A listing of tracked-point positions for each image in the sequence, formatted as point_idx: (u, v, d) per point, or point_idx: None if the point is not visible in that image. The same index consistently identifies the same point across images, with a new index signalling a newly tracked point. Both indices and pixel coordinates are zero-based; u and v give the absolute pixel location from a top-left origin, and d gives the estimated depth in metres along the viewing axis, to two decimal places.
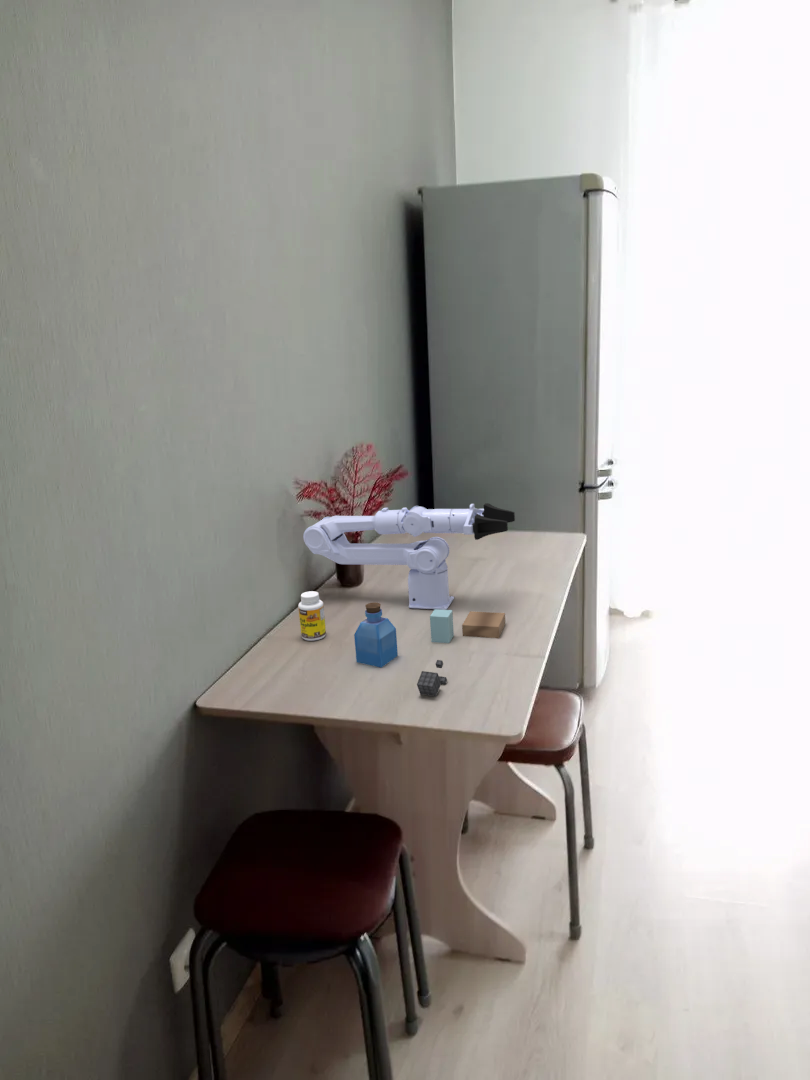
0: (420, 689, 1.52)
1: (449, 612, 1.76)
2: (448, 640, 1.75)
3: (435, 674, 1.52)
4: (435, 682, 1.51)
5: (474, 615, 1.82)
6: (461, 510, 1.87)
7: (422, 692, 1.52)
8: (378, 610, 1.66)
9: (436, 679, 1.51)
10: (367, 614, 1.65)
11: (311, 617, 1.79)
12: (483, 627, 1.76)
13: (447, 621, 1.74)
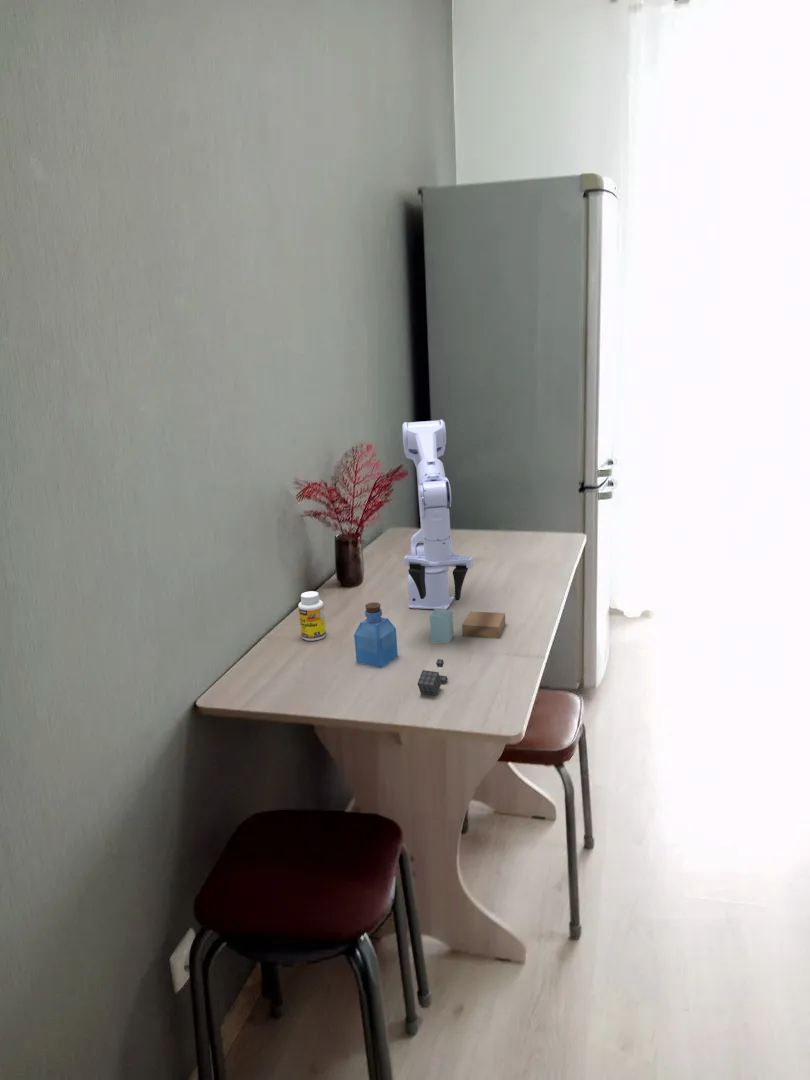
0: (421, 688, 1.52)
1: (449, 612, 1.76)
2: (448, 640, 1.75)
3: (435, 673, 1.52)
4: (436, 681, 1.52)
5: (474, 615, 1.82)
6: (431, 551, 1.69)
7: (423, 691, 1.53)
8: (378, 610, 1.66)
9: (436, 678, 1.52)
10: (367, 614, 1.65)
11: (311, 617, 1.79)
12: (483, 627, 1.76)
13: (447, 621, 1.74)
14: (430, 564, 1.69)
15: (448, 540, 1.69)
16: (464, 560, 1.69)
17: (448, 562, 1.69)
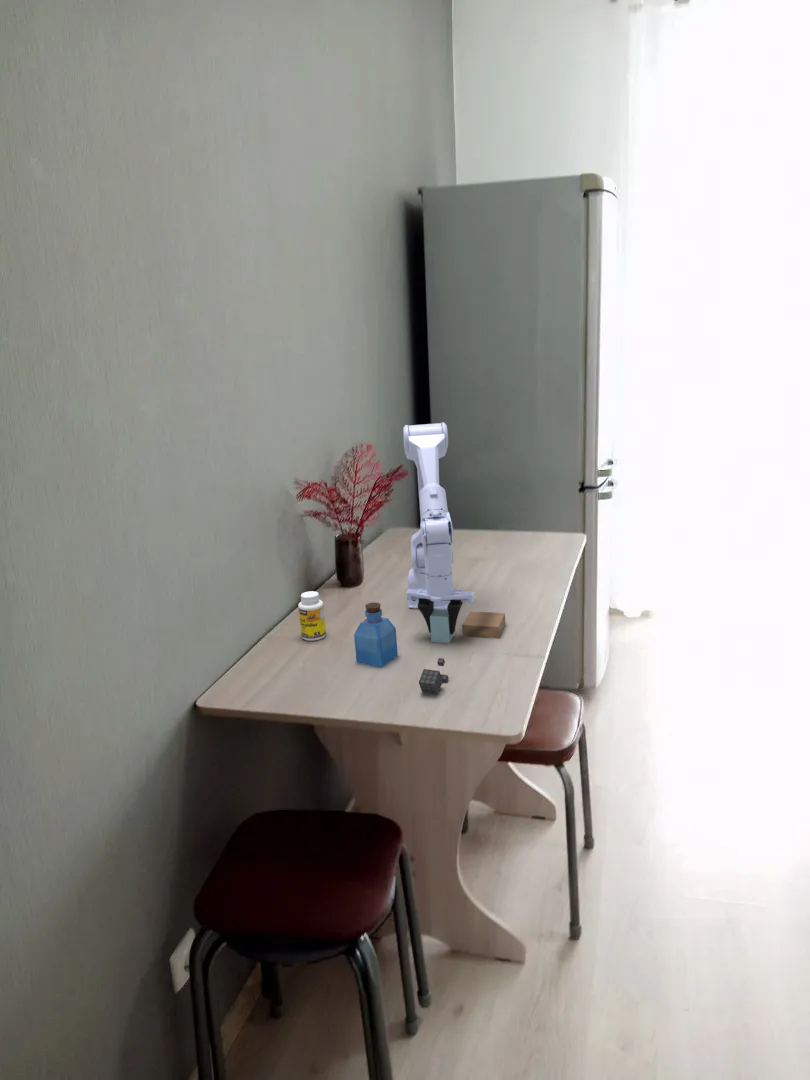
0: (422, 687, 1.53)
1: None
2: (448, 640, 1.75)
3: (436, 672, 1.53)
4: (437, 680, 1.52)
5: (474, 615, 1.82)
6: (433, 587, 1.71)
7: (424, 690, 1.53)
8: (378, 610, 1.66)
9: (437, 677, 1.52)
10: (367, 614, 1.65)
11: (311, 617, 1.79)
12: (483, 627, 1.76)
13: (447, 621, 1.74)
14: (432, 599, 1.71)
15: (450, 576, 1.71)
16: (466, 595, 1.71)
17: (450, 597, 1.71)
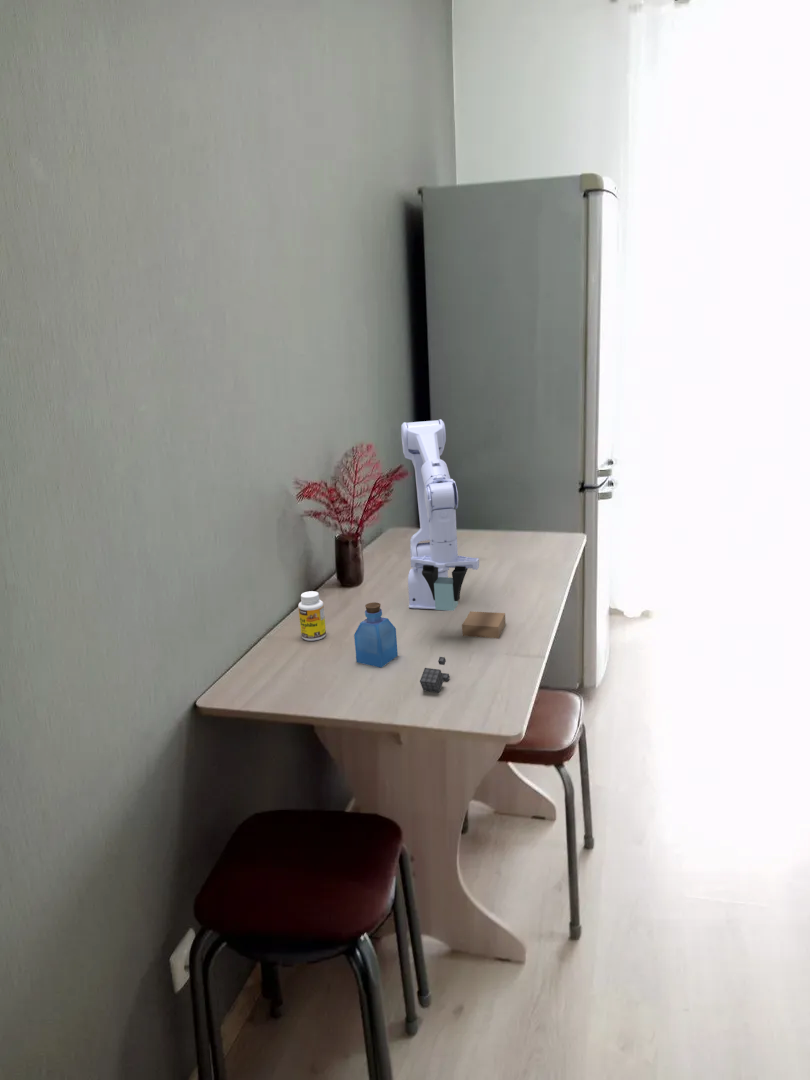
0: (423, 686, 1.53)
1: None
2: (452, 608, 1.73)
3: (437, 671, 1.53)
4: (438, 679, 1.53)
5: (474, 615, 1.82)
6: (437, 553, 1.70)
7: (425, 689, 1.54)
8: (378, 610, 1.66)
9: (438, 675, 1.53)
10: (367, 614, 1.65)
11: (311, 617, 1.79)
12: (483, 627, 1.76)
13: (451, 588, 1.72)
14: (436, 565, 1.69)
15: (454, 541, 1.70)
16: (470, 561, 1.70)
17: (454, 563, 1.70)
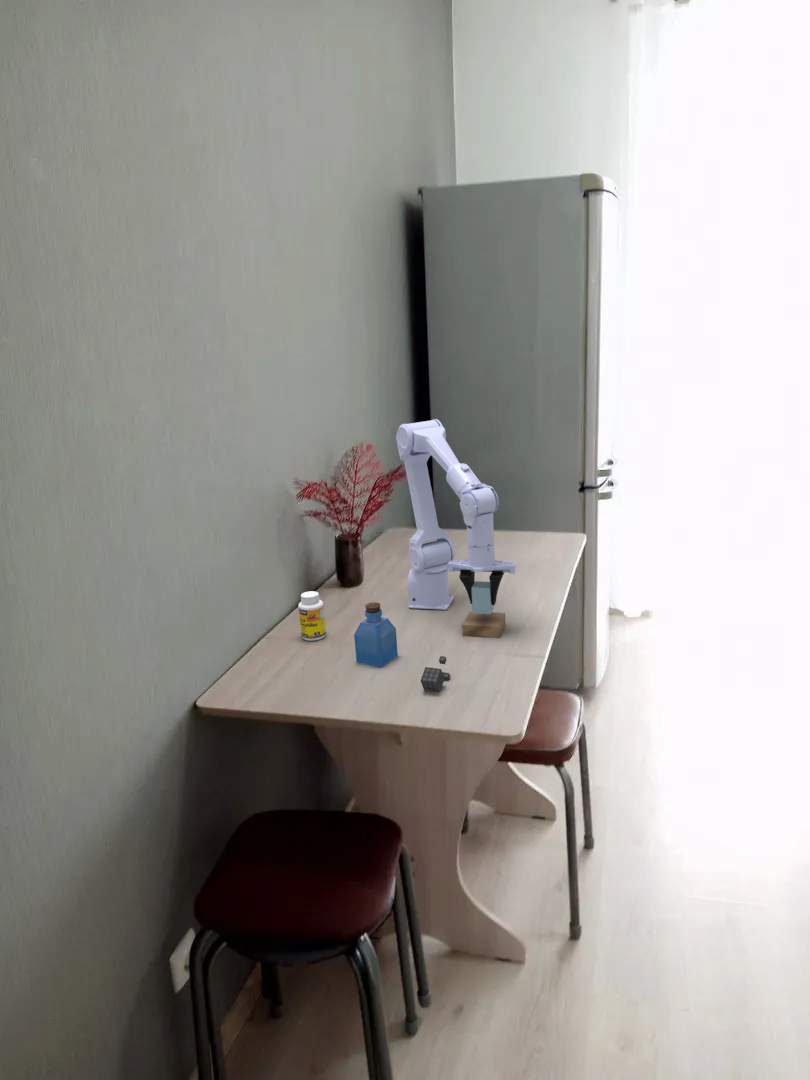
0: (424, 685, 1.54)
1: None
2: (489, 611, 1.76)
3: (438, 670, 1.53)
4: (439, 678, 1.53)
5: (474, 615, 1.82)
6: (475, 557, 1.73)
7: (426, 688, 1.54)
8: (378, 610, 1.66)
9: (439, 675, 1.53)
10: (367, 614, 1.65)
11: (311, 617, 1.79)
12: (483, 627, 1.76)
13: (489, 592, 1.75)
14: (474, 570, 1.73)
15: (492, 546, 1.73)
16: (508, 566, 1.73)
17: (492, 568, 1.73)
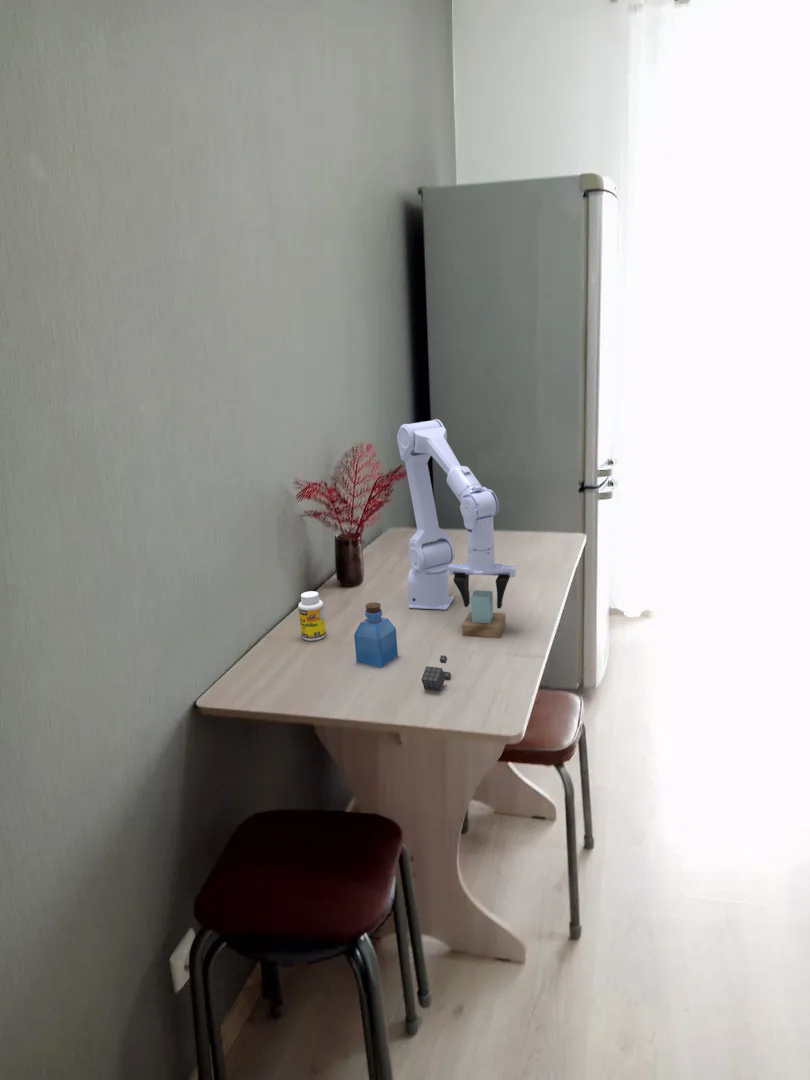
0: (424, 684, 1.54)
1: (489, 593, 1.78)
2: (489, 620, 1.77)
3: (439, 669, 1.54)
4: (439, 677, 1.53)
5: None
6: (475, 561, 1.73)
7: (426, 687, 1.54)
8: (378, 610, 1.66)
9: (440, 674, 1.53)
10: (367, 614, 1.65)
11: (311, 617, 1.79)
12: (483, 627, 1.76)
13: (488, 601, 1.76)
14: (475, 573, 1.73)
15: (492, 550, 1.73)
16: (508, 569, 1.73)
17: (492, 571, 1.73)
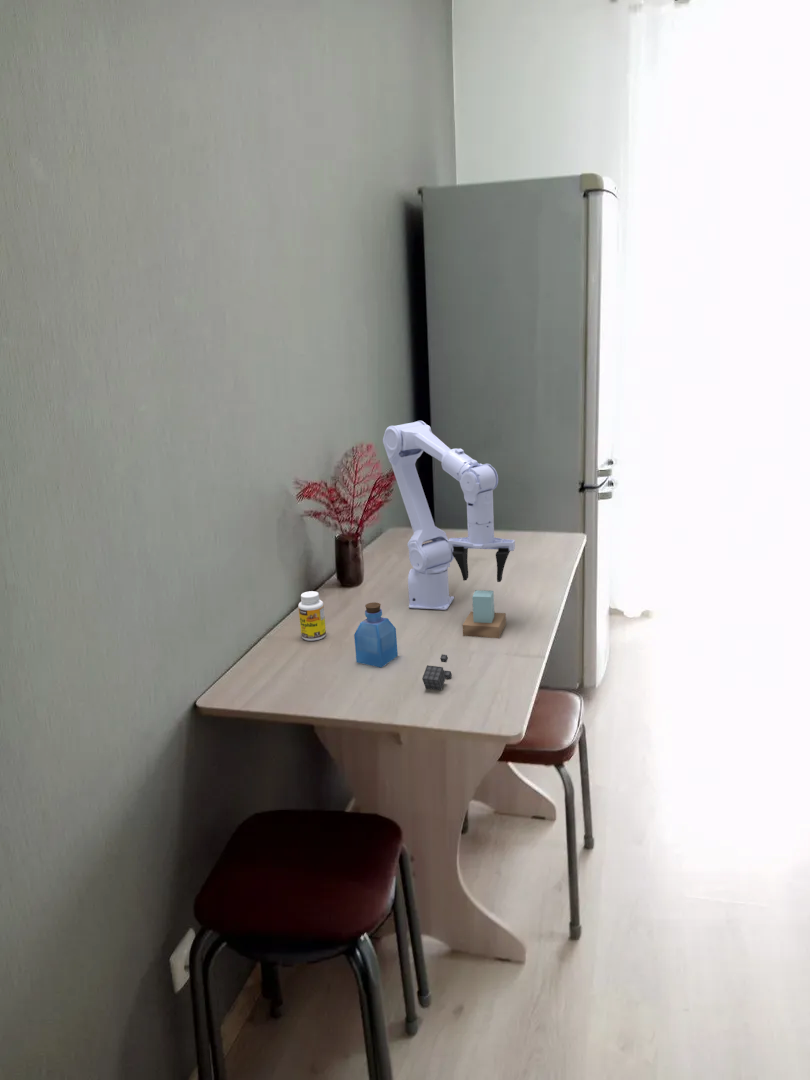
0: (425, 683, 1.54)
1: (491, 592, 1.78)
2: (490, 620, 1.77)
3: (440, 668, 1.54)
4: (440, 676, 1.54)
5: None
6: (475, 534, 1.76)
7: (427, 686, 1.55)
8: (378, 610, 1.66)
9: (441, 673, 1.54)
10: (367, 614, 1.65)
11: (311, 617, 1.79)
12: (483, 627, 1.76)
13: (490, 601, 1.76)
14: (474, 546, 1.75)
15: (491, 524, 1.76)
16: (507, 543, 1.76)
17: (491, 545, 1.76)
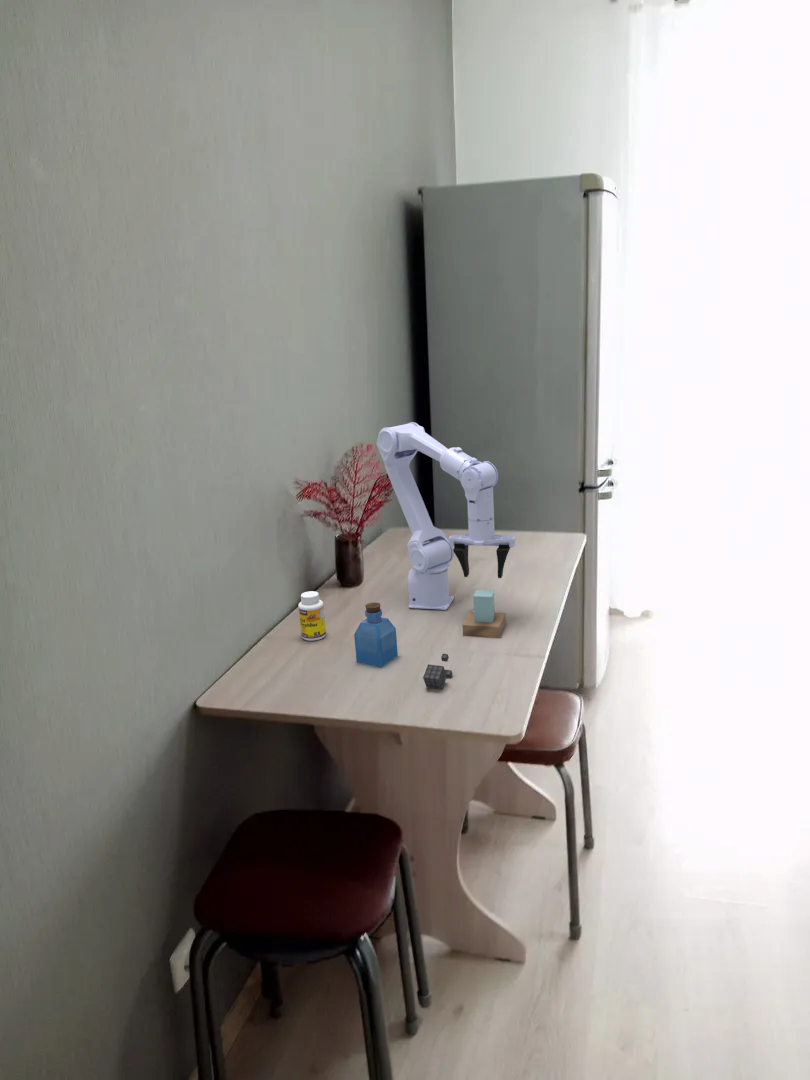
0: (426, 682, 1.55)
1: (492, 592, 1.78)
2: (491, 620, 1.77)
3: (440, 667, 1.54)
4: (441, 675, 1.54)
5: None
6: (475, 531, 1.78)
7: (428, 685, 1.55)
8: (378, 610, 1.66)
9: (442, 672, 1.54)
10: (367, 614, 1.65)
11: (311, 617, 1.79)
12: (483, 627, 1.76)
13: (491, 601, 1.76)
14: (475, 543, 1.77)
15: (492, 520, 1.78)
16: (507, 539, 1.78)
17: (492, 541, 1.78)
